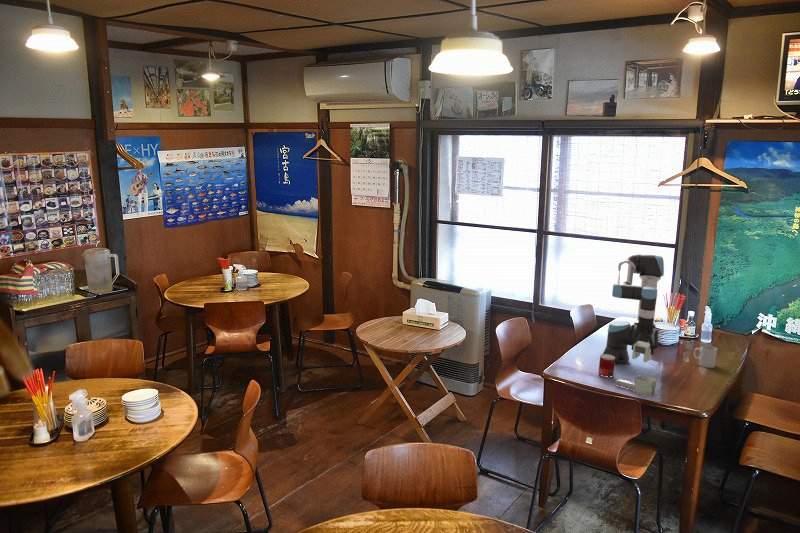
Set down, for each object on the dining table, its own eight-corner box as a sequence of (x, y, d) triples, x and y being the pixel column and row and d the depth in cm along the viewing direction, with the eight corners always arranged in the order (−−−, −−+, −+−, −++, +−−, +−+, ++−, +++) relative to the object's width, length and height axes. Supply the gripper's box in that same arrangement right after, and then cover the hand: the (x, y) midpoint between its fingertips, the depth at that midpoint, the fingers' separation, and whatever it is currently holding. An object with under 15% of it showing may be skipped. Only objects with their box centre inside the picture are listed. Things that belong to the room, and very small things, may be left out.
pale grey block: (614, 387, 328) (615, 373, 326) (619, 383, 333) (620, 369, 332) (649, 397, 316) (651, 382, 315) (654, 393, 322) (656, 378, 320)
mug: (715, 364, 365) (718, 347, 363) (713, 369, 358) (715, 351, 356) (693, 360, 372) (696, 342, 369) (690, 364, 365) (693, 346, 363)
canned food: (611, 379, 339) (613, 360, 337) (596, 375, 343) (598, 356, 341) (614, 374, 345) (616, 355, 343) (600, 371, 350) (602, 352, 347)
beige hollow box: (637, 354, 336) (638, 340, 334) (651, 358, 331) (652, 344, 329) (631, 359, 329) (633, 344, 327) (645, 362, 324) (647, 348, 323)
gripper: (624, 314, 328) (620, 355, 334) (664, 322, 316) (658, 364, 321) (629, 311, 334) (625, 351, 339) (668, 319, 322) (663, 360, 327)
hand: (641, 357), depth 330 cm, fingers closed on beige hollow box, 7 cm apart
